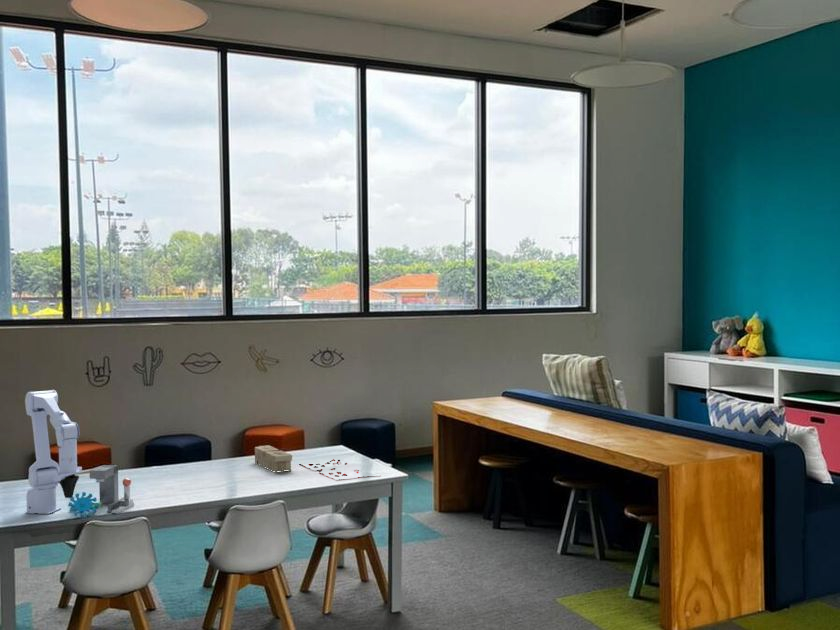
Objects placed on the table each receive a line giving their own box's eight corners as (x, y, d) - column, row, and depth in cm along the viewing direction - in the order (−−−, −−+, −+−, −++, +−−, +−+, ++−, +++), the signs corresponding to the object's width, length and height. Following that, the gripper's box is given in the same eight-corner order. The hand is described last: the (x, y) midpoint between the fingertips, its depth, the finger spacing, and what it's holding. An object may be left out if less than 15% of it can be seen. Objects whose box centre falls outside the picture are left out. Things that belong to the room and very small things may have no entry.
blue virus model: (67, 515, 291) (69, 490, 298) (65, 523, 295) (67, 499, 302) (100, 515, 296) (102, 491, 303) (98, 524, 300) (100, 500, 306)
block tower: (253, 464, 389) (275, 474, 363) (253, 446, 389) (275, 455, 363) (269, 462, 393) (292, 472, 367) (269, 445, 393) (292, 453, 367)
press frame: (68, 512, 301) (68, 474, 301) (92, 500, 317) (91, 464, 317) (117, 513, 299) (117, 475, 298) (138, 502, 315) (138, 465, 315)
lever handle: (121, 504, 307) (121, 479, 307) (125, 502, 310) (124, 477, 310) (129, 505, 307) (128, 479, 306) (132, 503, 310) (132, 477, 309)
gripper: (67, 462, 279) (68, 502, 279) (89, 454, 293) (90, 492, 294) (47, 462, 280) (48, 502, 280) (71, 454, 294) (71, 492, 295)
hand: (68, 497), depth 287 cm, fingers closed
